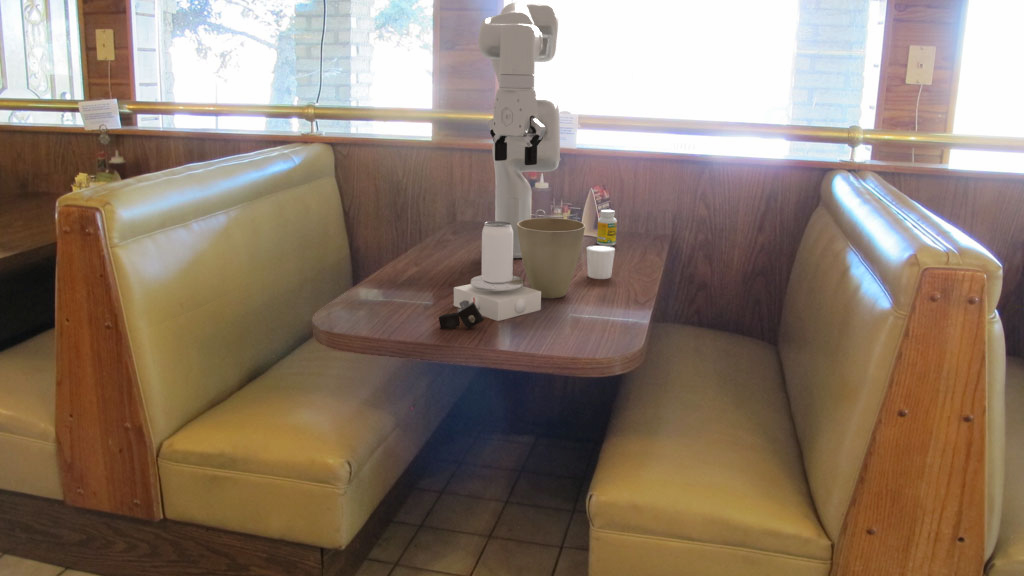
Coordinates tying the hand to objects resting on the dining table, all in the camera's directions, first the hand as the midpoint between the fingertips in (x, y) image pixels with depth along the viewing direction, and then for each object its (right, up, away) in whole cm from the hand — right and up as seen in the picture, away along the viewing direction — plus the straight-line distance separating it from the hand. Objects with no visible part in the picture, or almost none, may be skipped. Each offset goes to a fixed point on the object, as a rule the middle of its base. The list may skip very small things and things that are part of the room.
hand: (515, 162), depth 187 cm
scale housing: (-4, -32, -10) cm, 34 cm away
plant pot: (+8, -29, +1) cm, 30 cm away
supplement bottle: (+26, -16, +52) cm, 61 cm away
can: (-4, -26, -11) cm, 29 cm away
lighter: (-11, -36, -24) cm, 45 cm away
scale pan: (-4, -28, -11) cm, 31 cm away
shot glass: (+20, -25, +17) cm, 37 cm away
